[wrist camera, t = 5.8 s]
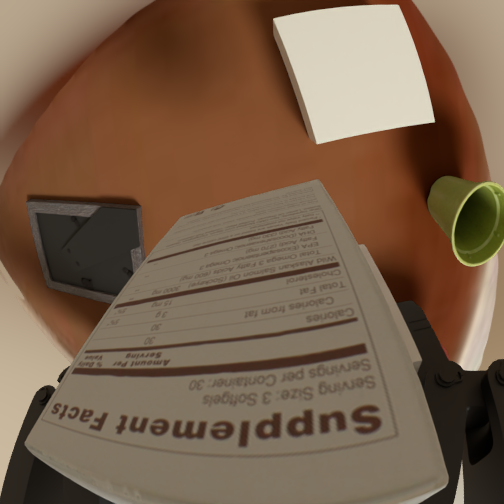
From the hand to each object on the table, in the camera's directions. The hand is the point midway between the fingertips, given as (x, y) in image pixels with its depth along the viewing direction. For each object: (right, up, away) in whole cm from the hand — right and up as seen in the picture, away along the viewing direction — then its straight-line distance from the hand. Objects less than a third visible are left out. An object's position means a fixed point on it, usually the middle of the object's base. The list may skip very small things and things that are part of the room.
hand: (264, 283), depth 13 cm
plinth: (+9, +20, +11) cm, 24 cm away
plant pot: (+24, +8, +16) cm, 29 cm away
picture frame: (-25, +2, +24) cm, 35 cm away
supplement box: (0, +1, +2) cm, 2 cm away
